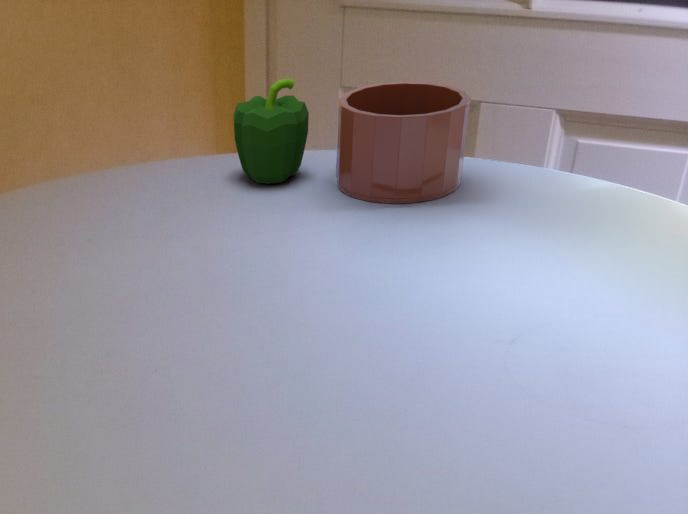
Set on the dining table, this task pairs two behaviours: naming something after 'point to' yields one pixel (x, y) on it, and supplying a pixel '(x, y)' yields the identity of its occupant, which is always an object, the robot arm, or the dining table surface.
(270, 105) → the bell pepper
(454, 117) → the brown pot
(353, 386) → the dining table surface
